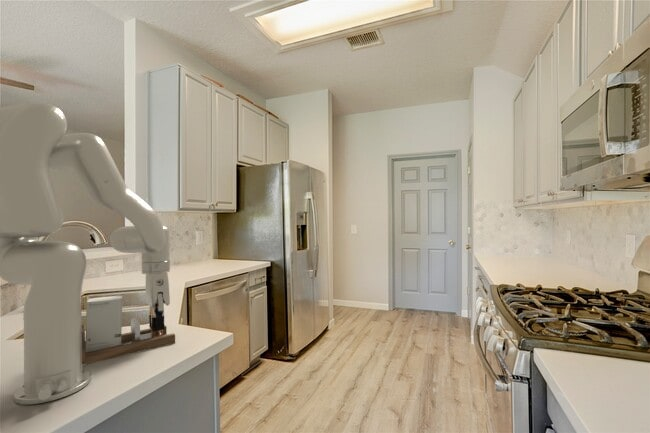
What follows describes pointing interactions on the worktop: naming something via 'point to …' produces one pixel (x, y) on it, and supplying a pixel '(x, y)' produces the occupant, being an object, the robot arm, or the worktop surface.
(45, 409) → the worktop surface
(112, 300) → the skincare box
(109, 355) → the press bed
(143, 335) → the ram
